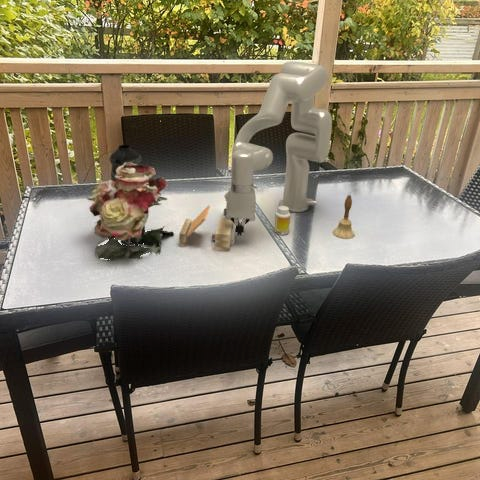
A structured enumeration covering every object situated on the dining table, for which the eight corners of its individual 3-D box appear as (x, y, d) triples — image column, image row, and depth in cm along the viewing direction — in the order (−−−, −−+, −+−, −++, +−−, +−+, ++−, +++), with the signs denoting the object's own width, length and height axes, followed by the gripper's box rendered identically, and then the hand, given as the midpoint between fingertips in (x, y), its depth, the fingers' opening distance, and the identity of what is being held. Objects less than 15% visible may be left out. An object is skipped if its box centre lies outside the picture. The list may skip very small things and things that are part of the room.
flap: (210, 206, 165) (208, 204, 165) (205, 220, 155) (203, 218, 155) (193, 223, 169) (191, 221, 169) (187, 238, 159) (185, 236, 159)
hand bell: (341, 240, 170) (348, 201, 162) (328, 231, 176) (334, 193, 169) (358, 236, 173) (366, 198, 166) (345, 227, 180) (351, 190, 172)
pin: (235, 239, 167) (235, 227, 165) (233, 244, 163) (234, 233, 161) (213, 237, 167) (213, 225, 165) (211, 243, 164) (211, 231, 161)
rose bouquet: (99, 227, 171) (90, 149, 157) (176, 230, 171) (174, 153, 157) (76, 262, 149) (63, 176, 134) (165, 266, 149) (162, 180, 134)
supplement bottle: (291, 234, 173) (293, 209, 168) (278, 236, 170) (280, 212, 165) (283, 227, 177) (286, 203, 172) (271, 230, 175) (273, 206, 170)
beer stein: (146, 194, 199) (143, 138, 187) (153, 213, 183) (150, 153, 171) (107, 198, 194) (101, 140, 182) (111, 217, 178) (105, 156, 166)
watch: (234, 211, 188) (235, 187, 183) (242, 220, 181) (243, 194, 176) (221, 213, 186) (222, 188, 180) (229, 222, 179) (230, 196, 174)
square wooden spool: (233, 233, 171) (233, 217, 168) (229, 251, 159) (229, 234, 156) (186, 229, 172) (186, 214, 169) (179, 247, 160) (178, 230, 157)
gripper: (264, 184, 157) (260, 231, 166) (221, 181, 158) (220, 227, 167) (263, 192, 151) (259, 240, 160) (218, 189, 151) (217, 237, 160)
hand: (239, 234), depth 163 cm, fingers closed
